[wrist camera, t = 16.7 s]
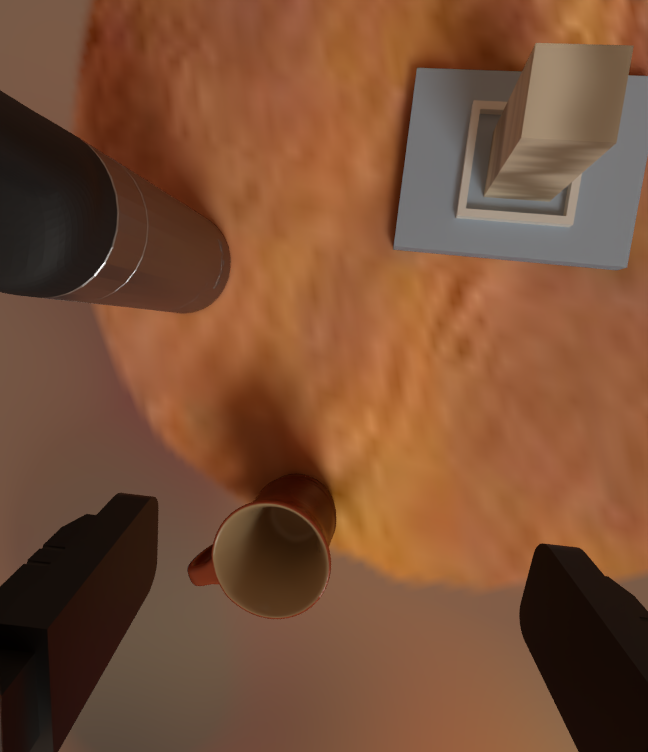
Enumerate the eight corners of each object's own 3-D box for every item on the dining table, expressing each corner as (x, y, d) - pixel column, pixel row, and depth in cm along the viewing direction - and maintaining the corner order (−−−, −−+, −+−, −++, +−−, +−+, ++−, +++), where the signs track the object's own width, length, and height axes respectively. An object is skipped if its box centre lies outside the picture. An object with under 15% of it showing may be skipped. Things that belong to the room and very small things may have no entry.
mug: (327, 450, 42) (305, 486, 32) (359, 539, 42) (348, 603, 32) (211, 487, 44) (156, 532, 34) (242, 572, 44) (196, 642, 34)
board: (393, 249, 39) (393, 244, 37) (416, 78, 38) (417, 61, 36) (617, 270, 37) (632, 265, 34) (650, 87, 35) (668, 70, 33)
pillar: (483, 196, 36) (521, 137, 26) (493, 131, 36) (535, 42, 25) (549, 201, 36) (616, 142, 25) (560, 135, 35) (633, 45, 24)
